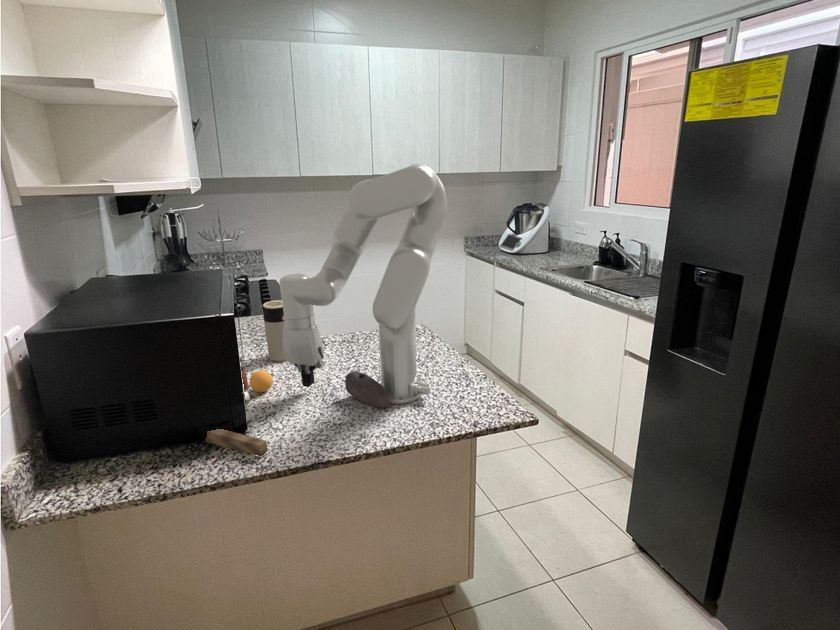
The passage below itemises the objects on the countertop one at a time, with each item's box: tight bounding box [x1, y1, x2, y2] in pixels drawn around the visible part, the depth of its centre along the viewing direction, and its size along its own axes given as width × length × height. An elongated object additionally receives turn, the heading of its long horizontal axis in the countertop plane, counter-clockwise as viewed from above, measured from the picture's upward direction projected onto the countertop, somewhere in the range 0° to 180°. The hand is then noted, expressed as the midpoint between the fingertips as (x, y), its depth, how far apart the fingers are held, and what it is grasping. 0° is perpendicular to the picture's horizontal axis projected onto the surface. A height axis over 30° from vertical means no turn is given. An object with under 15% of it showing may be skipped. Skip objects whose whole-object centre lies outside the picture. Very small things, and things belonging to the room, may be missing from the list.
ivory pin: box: [244, 391, 250, 402], centre depth 127 cm, size 2×2×8 cm
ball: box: [249, 369, 274, 393], centre depth 133 cm, size 6×6×6 cm
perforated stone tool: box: [344, 370, 391, 409], centre depth 126 cm, size 15×5×7 cm, turn 46°
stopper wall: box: [204, 429, 269, 456], centre depth 109 cm, size 18×2×3 cm, turn 66°
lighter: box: [240, 356, 250, 392], centre depth 135 cm, size 8×3×10 cm, turn 62°
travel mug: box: [262, 299, 286, 362], centre depth 153 cm, size 8×8×18 cm
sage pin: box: [245, 410, 254, 423], centre depth 116 cm, size 2×2×8 cm
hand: (308, 384), depth 132 cm, fingers closed
